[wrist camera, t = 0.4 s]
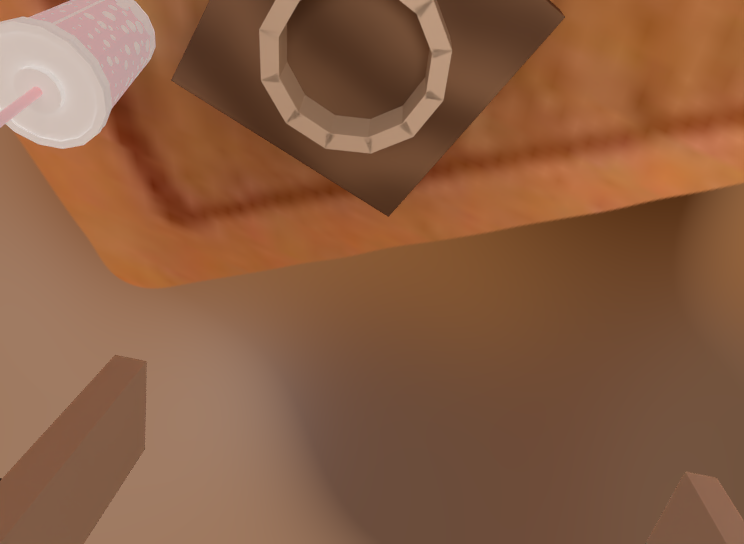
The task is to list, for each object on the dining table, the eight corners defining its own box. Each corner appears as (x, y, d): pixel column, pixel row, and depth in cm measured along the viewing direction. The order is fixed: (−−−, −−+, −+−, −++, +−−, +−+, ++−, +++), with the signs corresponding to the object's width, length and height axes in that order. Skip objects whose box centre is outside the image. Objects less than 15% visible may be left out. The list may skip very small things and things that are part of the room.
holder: (314, -208, 26) (309, -208, 25) (559, 9, 32) (565, 17, 30) (179, 71, 35) (171, 80, 34) (389, 204, 40) (388, 216, 39)
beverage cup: (60, 59, 35) (-97, 172, 24) (65, -45, 31) (-119, 34, 20) (160, 97, 36) (52, 221, 25) (176, 1, 32) (57, 98, 22)
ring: (330, -96, 28) (324, -89, 26) (484, 30, 31) (489, 45, 29) (238, 69, 33) (227, 85, 31) (378, 161, 37) (376, 181, 35)
